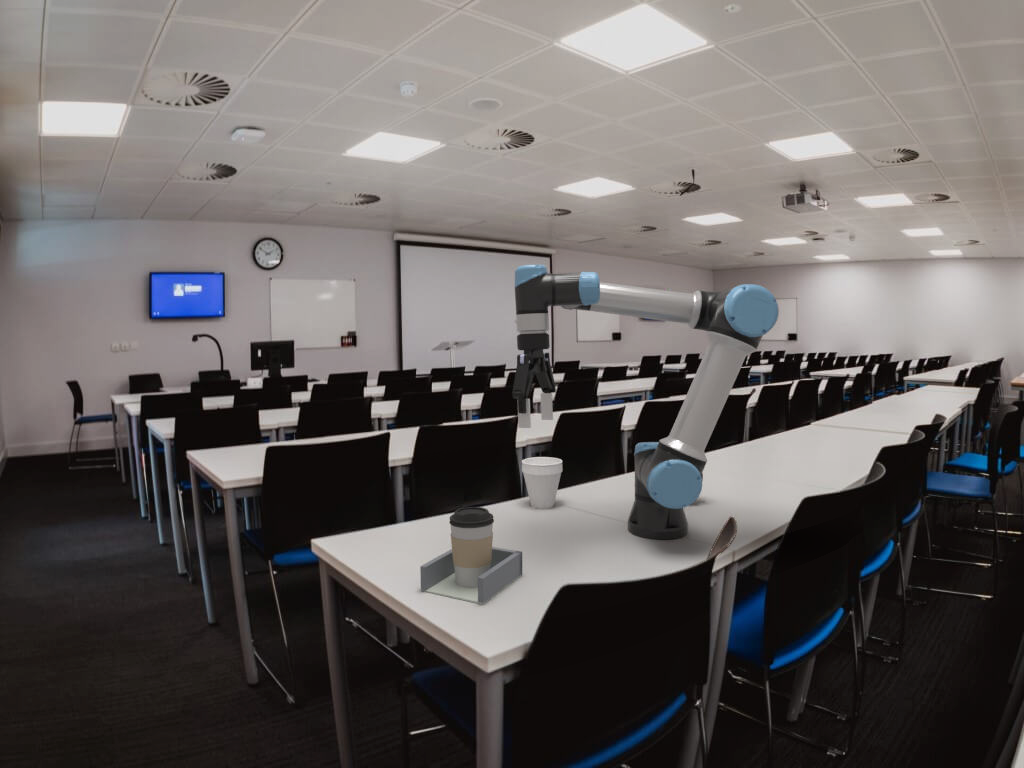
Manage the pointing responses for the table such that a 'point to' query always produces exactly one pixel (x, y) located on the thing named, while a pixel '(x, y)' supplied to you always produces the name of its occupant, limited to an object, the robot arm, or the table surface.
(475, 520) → the coffee cup
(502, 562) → the u rest
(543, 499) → the cup
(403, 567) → the table surface
